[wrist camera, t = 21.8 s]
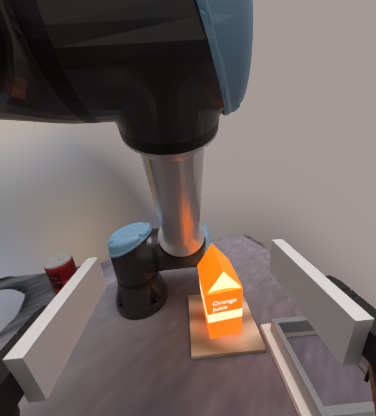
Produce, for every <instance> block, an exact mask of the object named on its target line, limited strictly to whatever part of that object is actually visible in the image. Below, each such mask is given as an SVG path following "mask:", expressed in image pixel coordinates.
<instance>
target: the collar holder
mask: <svg viewBox="0 0 376 416" xmlns="http://www.w3.org/2000/svg"><path fill="white" fill-rule="evenodd" d="M261 331H262V333H263V336H264V338H265V340H266V343H267V345H268V347H269V350H270V352H271V354H272V356H273V359H274V361H275V363H276V366H277V368H278V370H279V372H280V375H281V377H282V379H283V382H284V384H285V386H286V389H287V391H288V393H289V395H290V398H291V400H292V402H293V405H294V407H295V409H296V411H297V414H298V416H376V415H375V408H374V402H373V401H371V402H361V403H351V404H341V405H331V406H323V404H322V402H321V400H320V398H319V396H318V395H317V393H316V391H315V389H314V387H313V386H312V384H311V382H310V380H309V378H308V376H307V375H306V373H305V371H304V369H303V367H302V366H301V364H300V362H299V360H298V358H297V356H296V355H295V353H294V351H293V349H292V347H291V345H290V344H289V342H288V340H287V338H288V337H298V336H308V335H318V334H317V332H316V331H315V330H314V328H313V327H312V326H311V324H310V323H309V322H308V320H307V319H306V318H305V316H299V317H289V318H278V319H271V324H261ZM369 364H370V363H369V362H368V361H367V360H366V359H365V358H364V357H363V355H362V356H361V359H360V362H359V364H357V365H358V366H359V367H360V368H361V369H362V371H363V372H364V373H365V374H366V371H367V369H368V366H369ZM369 379H370V378H369Z"/></svg>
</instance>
